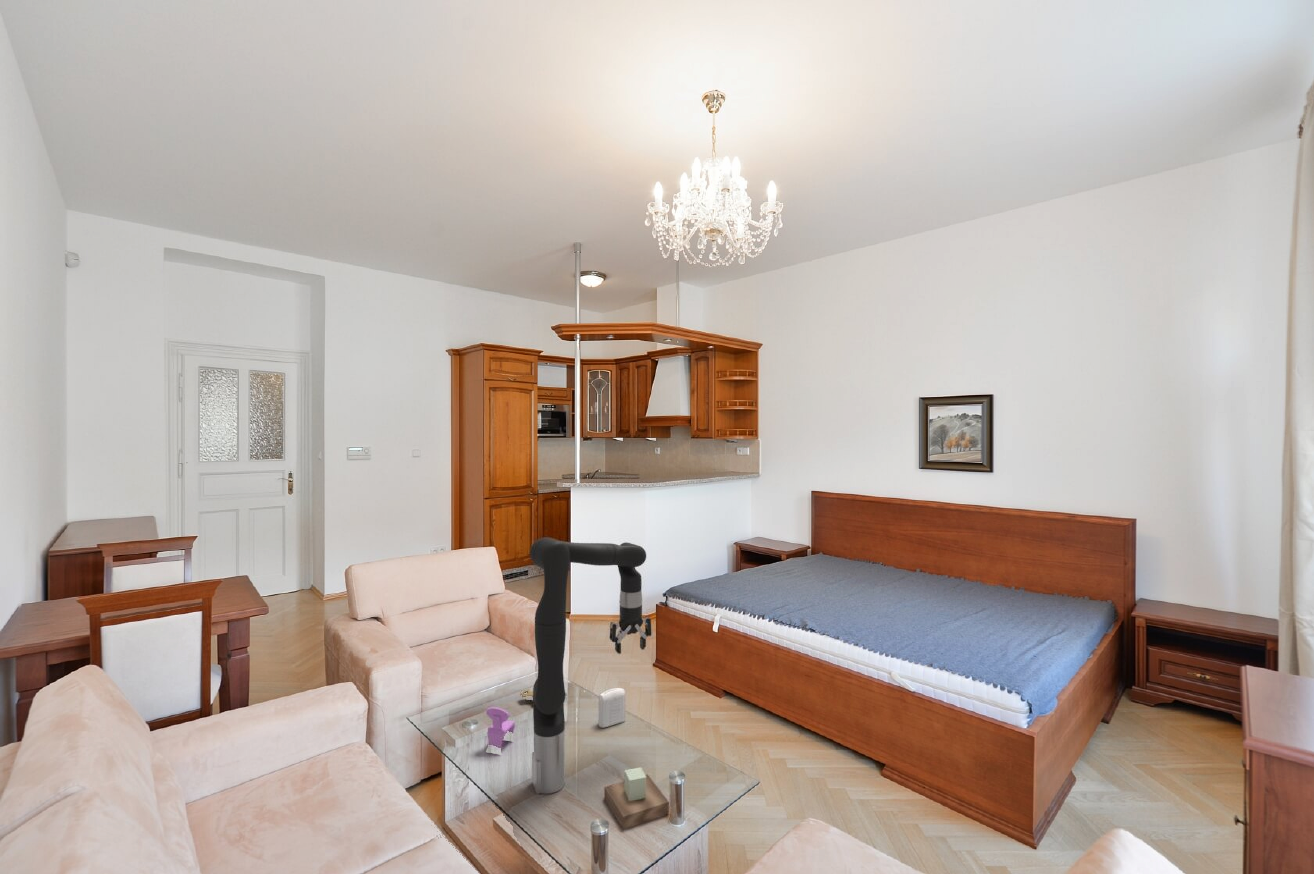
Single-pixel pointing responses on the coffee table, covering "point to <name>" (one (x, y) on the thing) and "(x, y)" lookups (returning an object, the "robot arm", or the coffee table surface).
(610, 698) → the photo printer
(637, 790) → the sage block
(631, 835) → the coffee table surface
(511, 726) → the toy chair
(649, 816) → the walnut block
